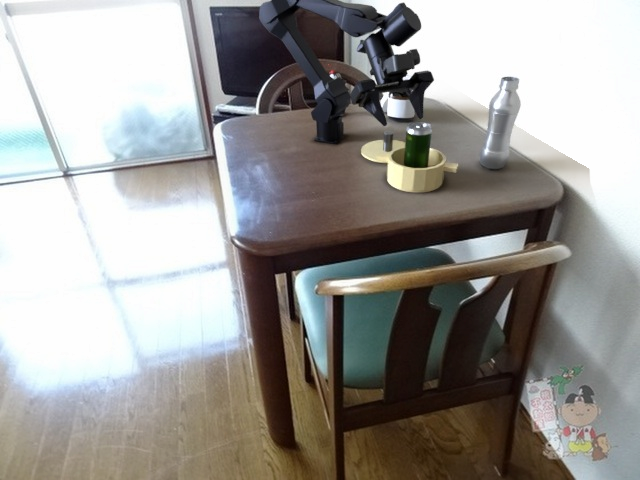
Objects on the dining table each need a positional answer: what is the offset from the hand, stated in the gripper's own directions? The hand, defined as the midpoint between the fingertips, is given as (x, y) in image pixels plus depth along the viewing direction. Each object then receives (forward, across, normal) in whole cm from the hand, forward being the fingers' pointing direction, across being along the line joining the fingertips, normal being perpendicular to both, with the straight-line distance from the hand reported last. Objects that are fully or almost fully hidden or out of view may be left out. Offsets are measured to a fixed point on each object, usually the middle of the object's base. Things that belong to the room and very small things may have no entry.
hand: (403, 121), depth 96 cm
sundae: (-21, +2, +38) cm, 43 cm away
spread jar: (-14, +18, +30) cm, 38 cm away
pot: (+12, 0, +4) cm, 13 cm away
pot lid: (+2, +2, +14) cm, 14 cm away
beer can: (+12, 0, +4) cm, 13 cm away
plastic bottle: (+14, +20, +2) cm, 24 cm away
